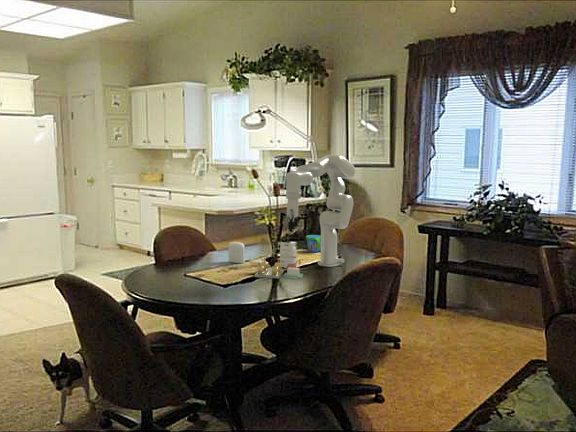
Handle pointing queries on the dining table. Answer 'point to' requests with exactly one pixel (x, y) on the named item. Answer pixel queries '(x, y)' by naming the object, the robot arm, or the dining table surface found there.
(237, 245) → the photo printer
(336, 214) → the robot arm
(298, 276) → the circuit board
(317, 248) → the snack cup
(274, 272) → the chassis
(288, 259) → the ink cartridge box
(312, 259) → the dining table surface
